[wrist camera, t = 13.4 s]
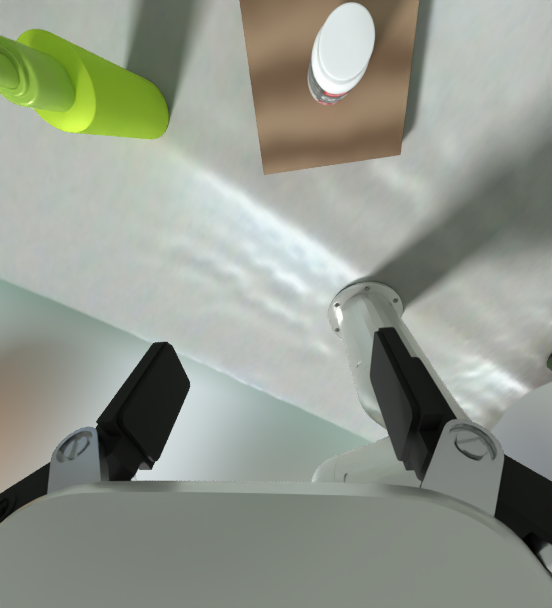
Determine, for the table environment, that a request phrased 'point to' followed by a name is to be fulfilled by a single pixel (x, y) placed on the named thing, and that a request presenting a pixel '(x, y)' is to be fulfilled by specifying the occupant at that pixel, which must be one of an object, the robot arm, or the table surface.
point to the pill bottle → (341, 53)
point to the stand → (296, 94)
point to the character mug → (549, 363)
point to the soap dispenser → (79, 88)
